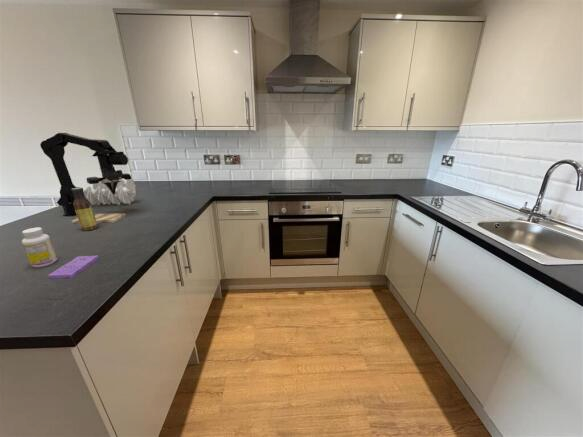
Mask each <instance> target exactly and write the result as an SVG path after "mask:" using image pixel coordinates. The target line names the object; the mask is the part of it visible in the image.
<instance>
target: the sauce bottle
mask: <svg viewBox="0 0 583 437" xmlns="http://www.w3.org/2000/svg"><path fill="white" fill-rule="evenodd" d="M71 190H72V192H73V194H74V198H75V200H74V203H73V205H74V208H75V211H76V214H77V215H76V217H77V218H78V220H79V223H78V224H79V226H80V228H81V229H82V231H85V232H87V231H92V230H96V229H97V228H98V223H97V221H96V218H95V215H94V214H95V213H94V212H95V211H94V210H93V209H94V208H93V204H92V203H90V202H89V201H88V199H87V198H86V197H85V195H84V192H83V191H84V190H85V189H84V188H83V187H82V186H80V187H79V188H73V189H71Z"/></svg>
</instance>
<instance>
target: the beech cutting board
mask: <svg viewBox="0 0 583 437" xmlns="http://www.w3.org/2000/svg"><path fill="white" fill-rule="evenodd" d="M94 215H95V218H96V221H97V224H98V223H115V222H117V221H118V220H120V219H123V218H124V217H126V216H127V214H126V213H124V212H123V213H121V212H119V213H94ZM71 222H72V224H80V223H79V220H78V217H77V218H75V219H73V220H71Z"/></svg>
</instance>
